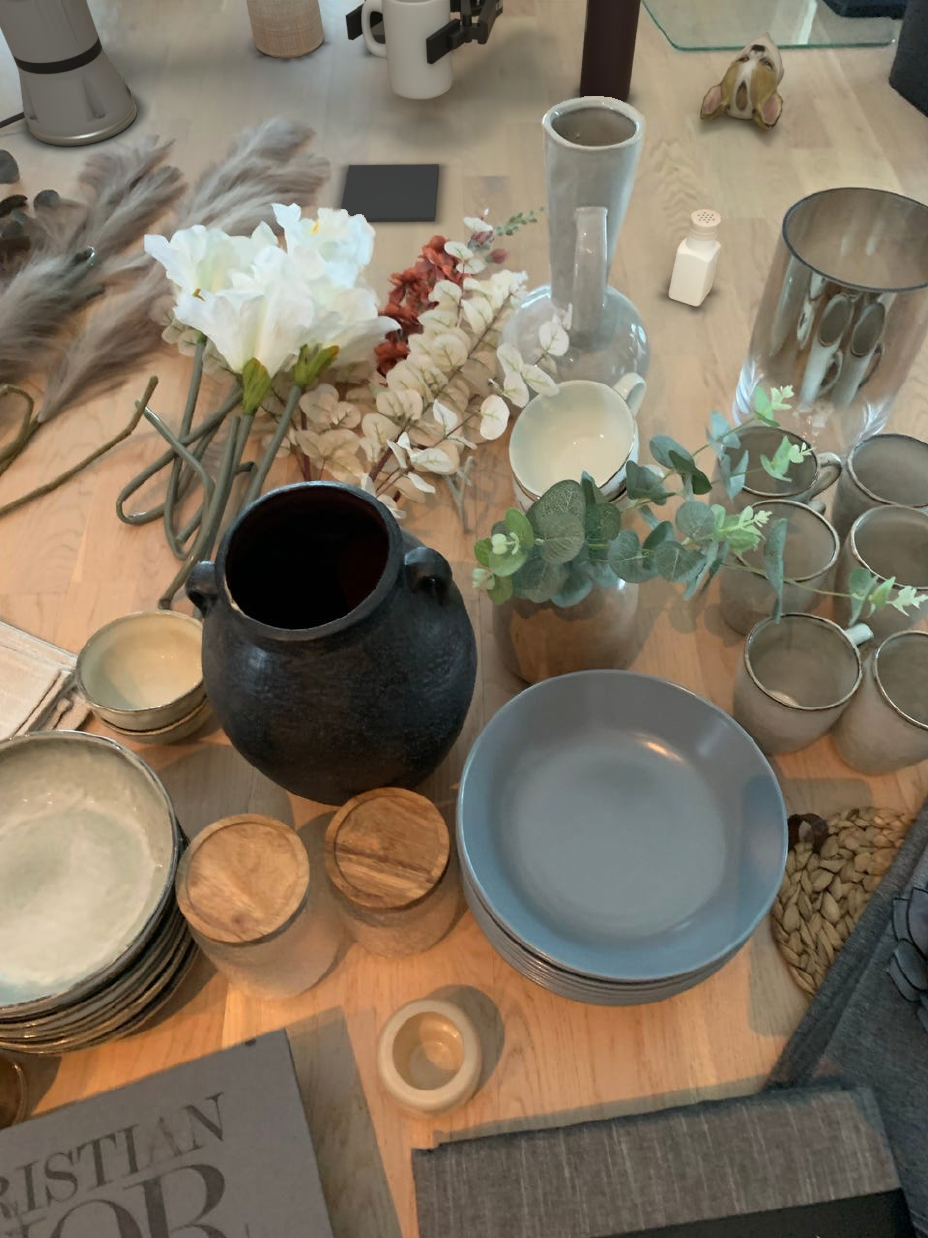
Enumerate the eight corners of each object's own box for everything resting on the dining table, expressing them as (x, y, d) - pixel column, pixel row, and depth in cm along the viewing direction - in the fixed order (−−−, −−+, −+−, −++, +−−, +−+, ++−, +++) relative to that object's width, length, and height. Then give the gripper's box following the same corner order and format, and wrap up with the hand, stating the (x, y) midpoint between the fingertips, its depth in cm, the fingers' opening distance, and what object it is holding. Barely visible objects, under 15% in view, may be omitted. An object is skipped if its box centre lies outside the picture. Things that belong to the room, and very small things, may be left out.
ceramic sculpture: (810, 24, 115) (786, 84, 108) (792, 90, 122) (769, 150, 116) (731, 13, 117) (703, 71, 111) (718, 79, 125) (691, 137, 118)
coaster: (339, 221, 108) (339, 217, 108) (349, 169, 115) (348, 164, 114) (434, 220, 108) (434, 216, 108) (438, 168, 115) (438, 163, 114)
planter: (261, 27, 138) (247, -44, 130) (328, 26, 138) (318, -45, 130) (249, 60, 132) (234, -12, 124) (319, 59, 132) (308, -13, 124)
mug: (461, 73, 116) (459, -23, 107) (439, 104, 112) (435, 7, 102) (380, 60, 118) (370, -34, 109) (355, 90, 114) (343, -5, 105)
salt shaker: (665, 299, 98) (680, 221, 90) (679, 280, 100) (695, 202, 92) (698, 309, 97) (716, 232, 89) (712, 290, 99) (731, 212, 91)
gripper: (556, 26, 117) (468, 95, 107) (412, -13, 124) (318, 49, 115) (560, -39, 111) (467, 28, 101) (408, -76, 118) (308, -17, 109)
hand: (388, 39), depth 108 cm, fingers closed on mug, 12 cm apart
